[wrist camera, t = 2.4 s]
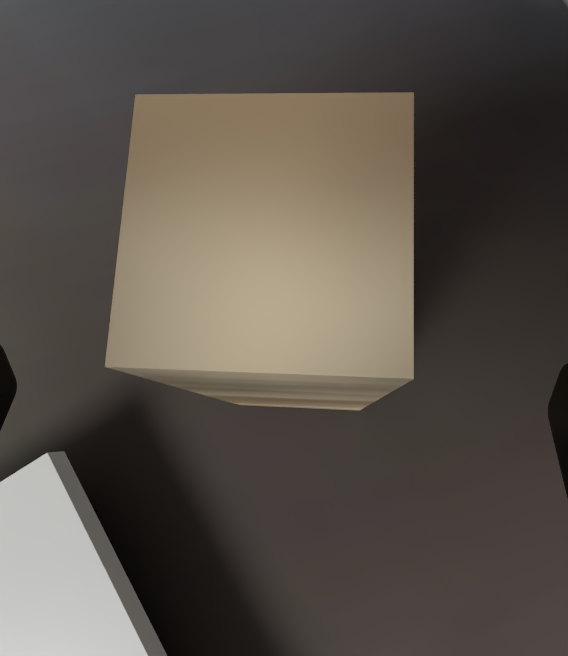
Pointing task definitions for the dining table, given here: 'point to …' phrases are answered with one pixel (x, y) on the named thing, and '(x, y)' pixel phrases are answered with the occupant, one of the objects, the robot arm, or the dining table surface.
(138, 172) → the beech post
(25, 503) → the white square board
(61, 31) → the dining table surface
